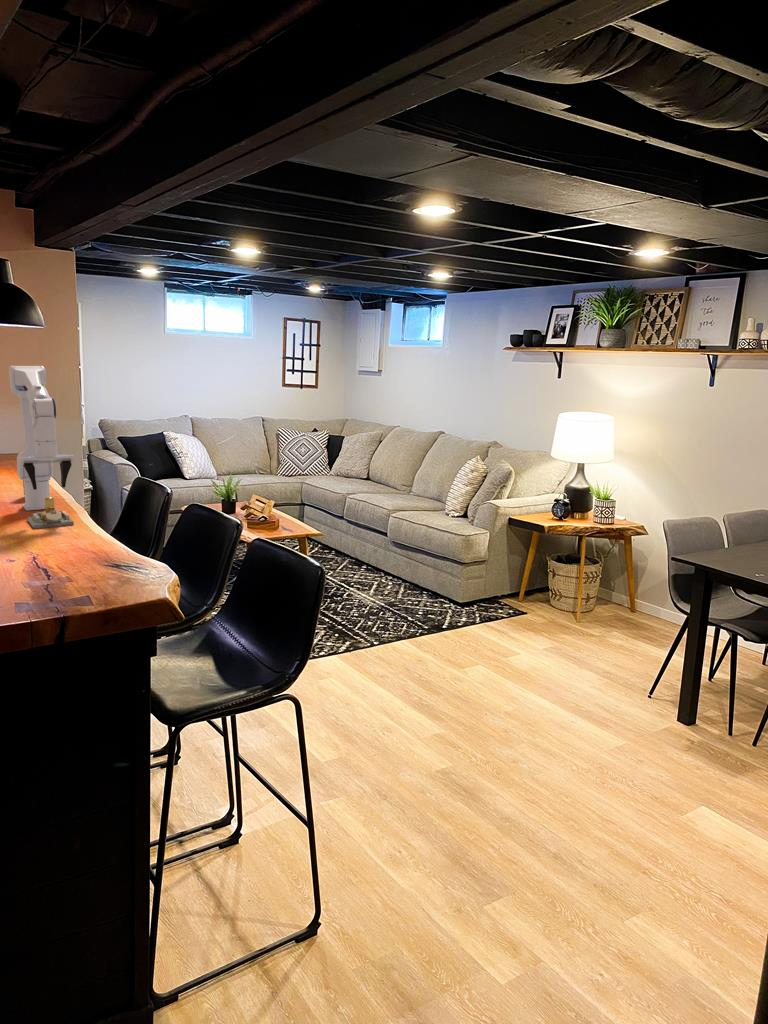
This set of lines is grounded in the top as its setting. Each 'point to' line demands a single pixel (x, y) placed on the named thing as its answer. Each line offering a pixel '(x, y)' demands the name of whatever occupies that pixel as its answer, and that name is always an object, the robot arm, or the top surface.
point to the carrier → (50, 519)
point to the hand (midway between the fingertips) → (49, 488)
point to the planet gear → (48, 506)
